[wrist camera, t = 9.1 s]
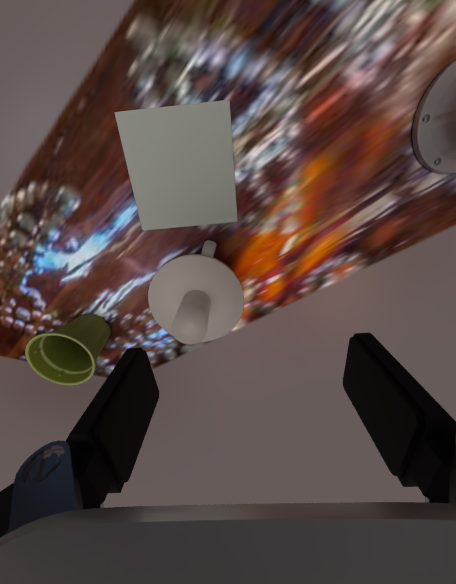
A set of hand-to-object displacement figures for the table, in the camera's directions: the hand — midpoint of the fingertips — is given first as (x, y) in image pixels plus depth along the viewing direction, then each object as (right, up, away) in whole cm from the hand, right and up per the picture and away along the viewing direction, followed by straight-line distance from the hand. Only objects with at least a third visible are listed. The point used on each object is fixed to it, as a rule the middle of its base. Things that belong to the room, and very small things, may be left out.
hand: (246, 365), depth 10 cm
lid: (-5, +2, +18) cm, 19 cm away
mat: (-7, +20, +19) cm, 28 cm away
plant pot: (-25, -3, +29) cm, 39 cm away
